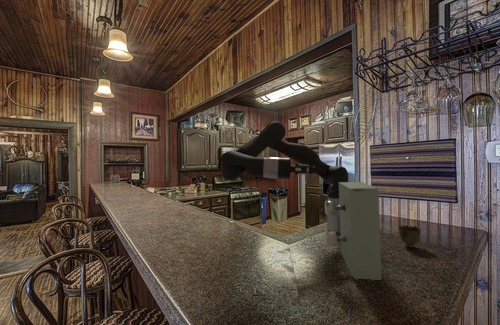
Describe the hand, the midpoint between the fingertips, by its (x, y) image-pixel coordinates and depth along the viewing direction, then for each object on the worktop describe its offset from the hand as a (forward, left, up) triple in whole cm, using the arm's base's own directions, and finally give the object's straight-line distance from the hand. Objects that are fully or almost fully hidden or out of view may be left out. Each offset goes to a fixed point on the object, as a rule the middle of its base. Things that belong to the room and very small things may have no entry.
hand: (323, 170), depth 81 cm
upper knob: (+2, +4, -16) cm, 16 cm away
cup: (+13, +39, -34) cm, 53 cm away
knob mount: (+7, +8, -33) cm, 35 cm away
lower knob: (+2, +4, -27) cm, 27 cm away
